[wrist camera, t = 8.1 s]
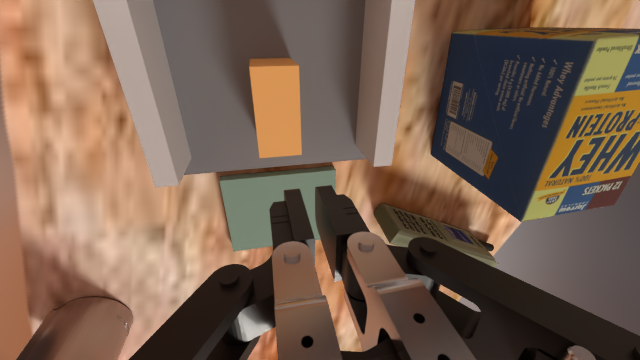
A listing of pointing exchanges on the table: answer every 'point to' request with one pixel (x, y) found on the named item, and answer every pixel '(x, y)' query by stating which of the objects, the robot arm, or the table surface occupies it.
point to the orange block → (276, 106)
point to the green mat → (267, 201)
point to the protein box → (542, 116)
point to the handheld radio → (429, 232)
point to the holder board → (235, 83)
